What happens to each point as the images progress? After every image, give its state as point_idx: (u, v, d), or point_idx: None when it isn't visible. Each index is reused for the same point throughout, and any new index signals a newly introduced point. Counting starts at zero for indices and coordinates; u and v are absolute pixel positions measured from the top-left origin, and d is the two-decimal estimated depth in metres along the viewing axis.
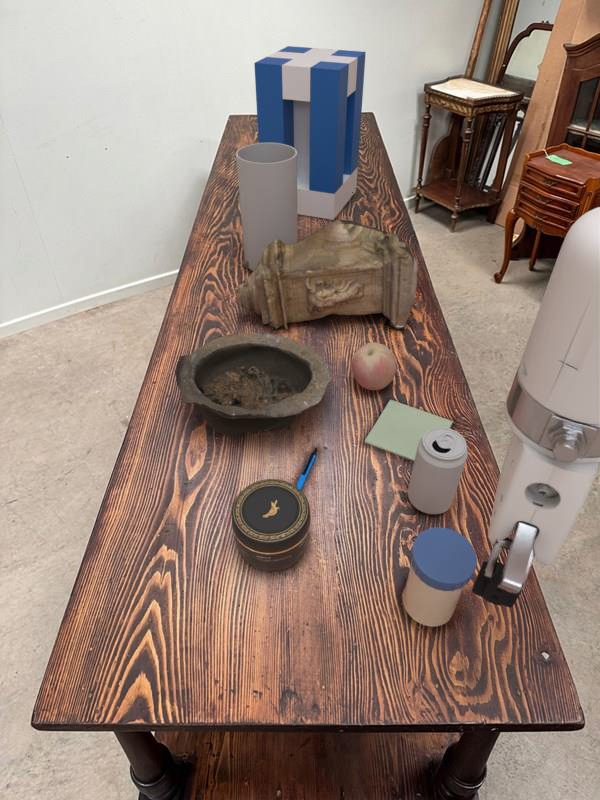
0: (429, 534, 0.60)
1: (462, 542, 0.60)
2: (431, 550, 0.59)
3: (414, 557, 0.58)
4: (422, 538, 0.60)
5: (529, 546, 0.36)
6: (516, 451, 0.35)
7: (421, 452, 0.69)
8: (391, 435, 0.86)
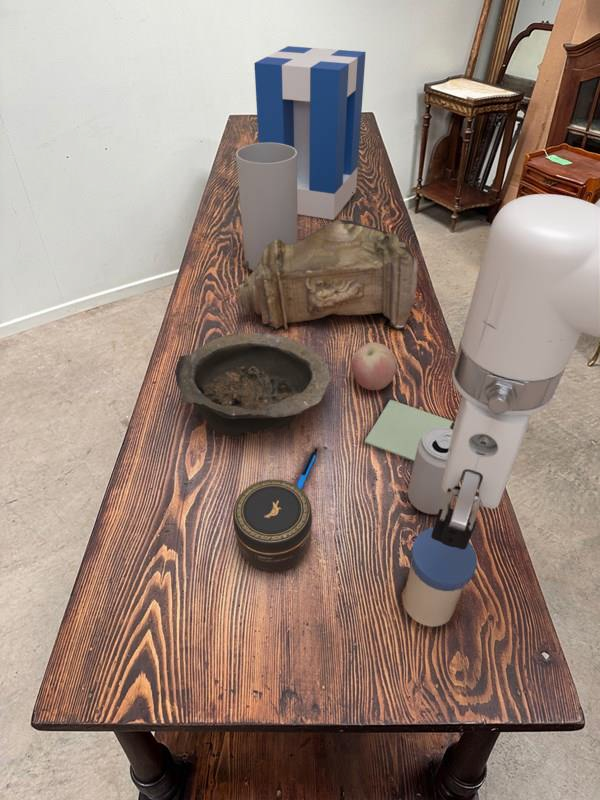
0: (429, 534, 0.60)
1: None
2: (431, 550, 0.59)
3: (414, 557, 0.58)
4: (422, 538, 0.60)
5: (473, 491, 0.42)
6: (461, 408, 0.41)
7: (421, 452, 0.69)
8: (391, 435, 0.86)
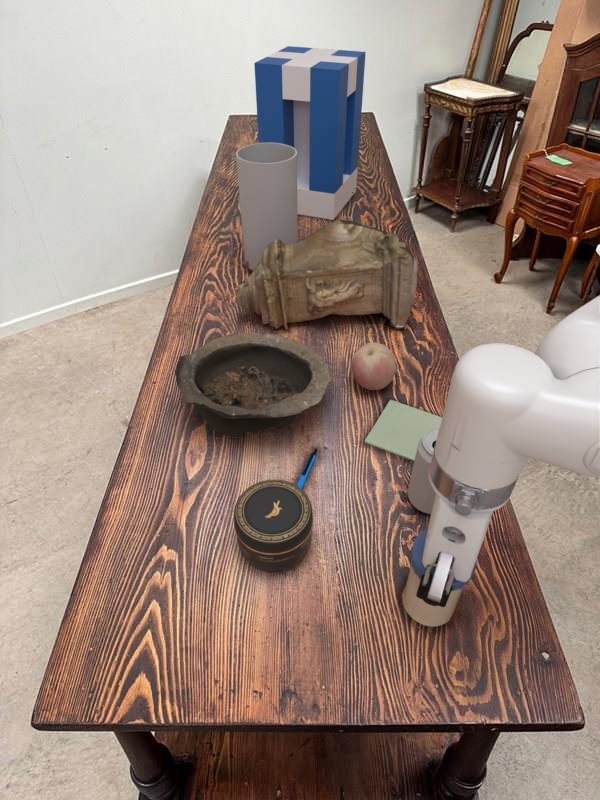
0: None
1: None
2: None
3: (414, 557, 0.58)
4: (422, 538, 0.60)
5: (446, 571, 0.50)
6: (436, 503, 0.49)
7: (421, 452, 0.69)
8: (391, 435, 0.86)
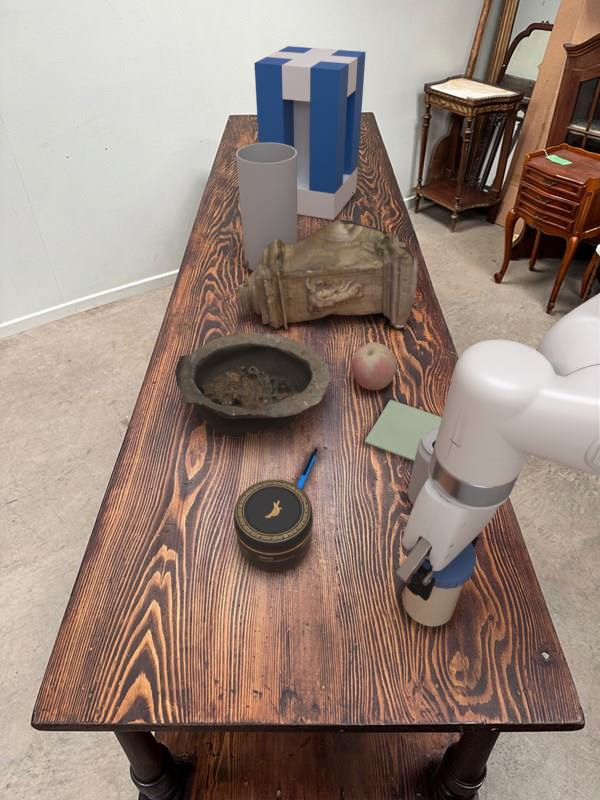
0: (449, 574, 0.56)
1: None
2: (454, 559, 0.57)
3: (475, 560, 0.57)
4: (458, 573, 0.56)
5: None
6: None
7: (421, 452, 0.69)
8: (391, 435, 0.86)
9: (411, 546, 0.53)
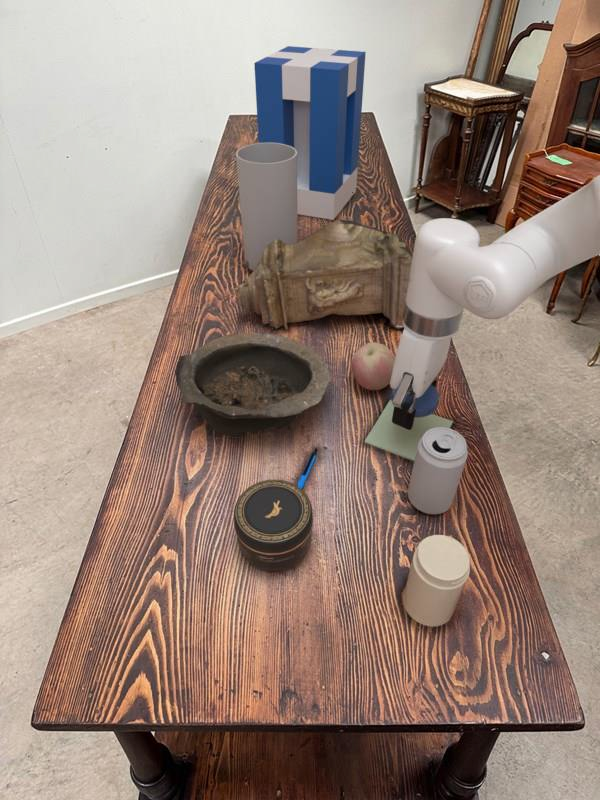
0: (423, 405, 0.79)
1: None
2: (424, 396, 0.81)
3: (438, 394, 0.81)
4: (429, 403, 0.79)
5: None
6: None
7: (421, 452, 0.69)
8: (391, 435, 0.86)
9: (397, 384, 0.75)
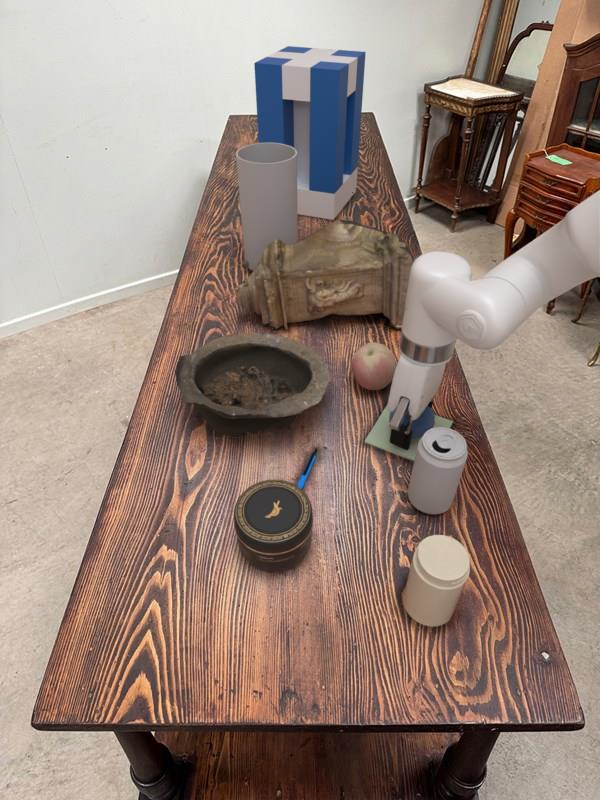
0: (420, 426, 0.82)
1: None
2: (421, 417, 0.84)
3: (434, 415, 0.84)
4: (426, 424, 0.82)
5: None
6: None
7: (421, 452, 0.69)
8: None
9: (394, 407, 0.78)
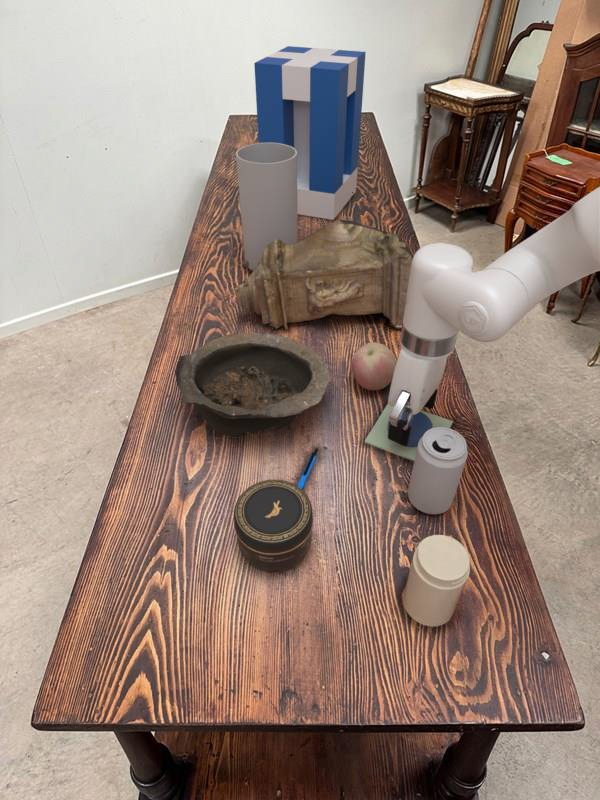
0: (418, 436, 0.83)
1: None
2: (419, 427, 0.85)
3: (431, 425, 0.85)
4: (423, 434, 0.84)
5: None
6: None
7: (421, 452, 0.69)
8: None
9: (395, 402, 0.77)
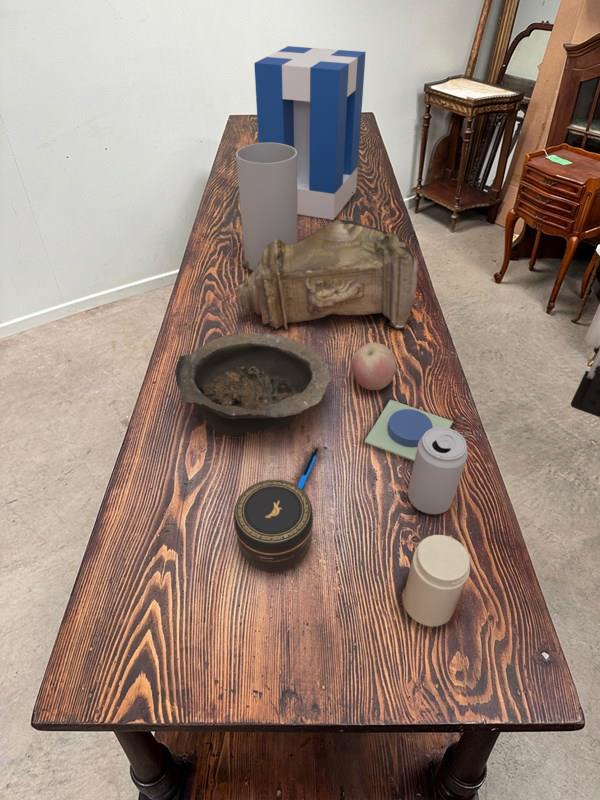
0: (418, 436, 0.83)
1: (395, 428, 0.85)
2: (419, 427, 0.85)
3: (431, 425, 0.85)
4: (423, 434, 0.84)
5: None
6: None
7: (421, 452, 0.69)
8: None
9: None
